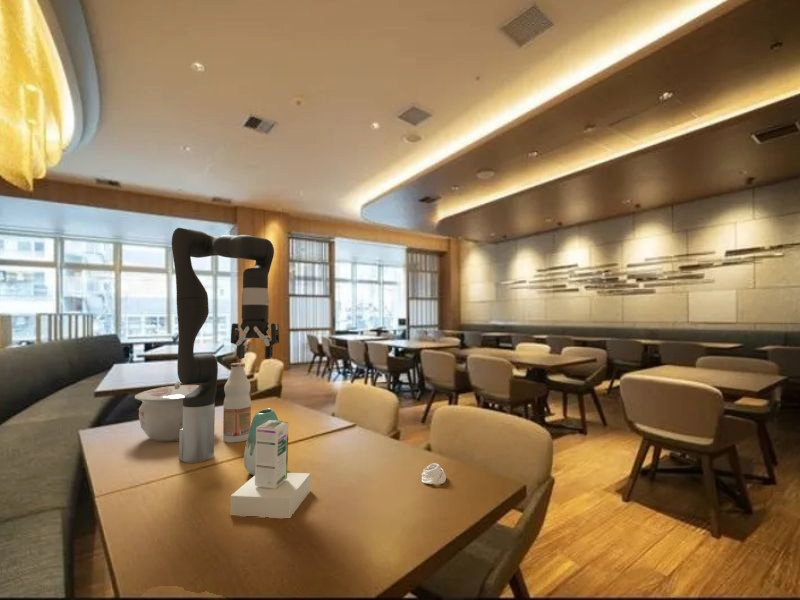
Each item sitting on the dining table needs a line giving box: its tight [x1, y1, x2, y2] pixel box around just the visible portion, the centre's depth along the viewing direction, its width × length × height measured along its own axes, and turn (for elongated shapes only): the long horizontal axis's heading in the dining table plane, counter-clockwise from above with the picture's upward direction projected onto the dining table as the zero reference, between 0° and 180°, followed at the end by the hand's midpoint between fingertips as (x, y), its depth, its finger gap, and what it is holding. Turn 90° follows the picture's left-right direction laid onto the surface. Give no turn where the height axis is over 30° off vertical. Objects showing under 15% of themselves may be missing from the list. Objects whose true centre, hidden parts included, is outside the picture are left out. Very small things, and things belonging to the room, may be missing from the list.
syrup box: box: [255, 420, 289, 489], centre depth 96 cm, size 6×6×14 cm
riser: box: [230, 472, 311, 519], centre depth 96 cm, size 14×14×5 cm
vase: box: [243, 408, 280, 476], centre depth 115 cm, size 12×12×18 cm
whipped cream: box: [421, 462, 447, 485], centre depth 108 cm, size 8×7×5 cm
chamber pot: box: [134, 381, 200, 442], centre depth 150 cm, size 28×28×21 cm
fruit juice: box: [222, 362, 252, 444], centre depth 146 cm, size 9×9×28 cm
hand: (254, 358), depth 116 cm, fingers open, 8 cm apart
